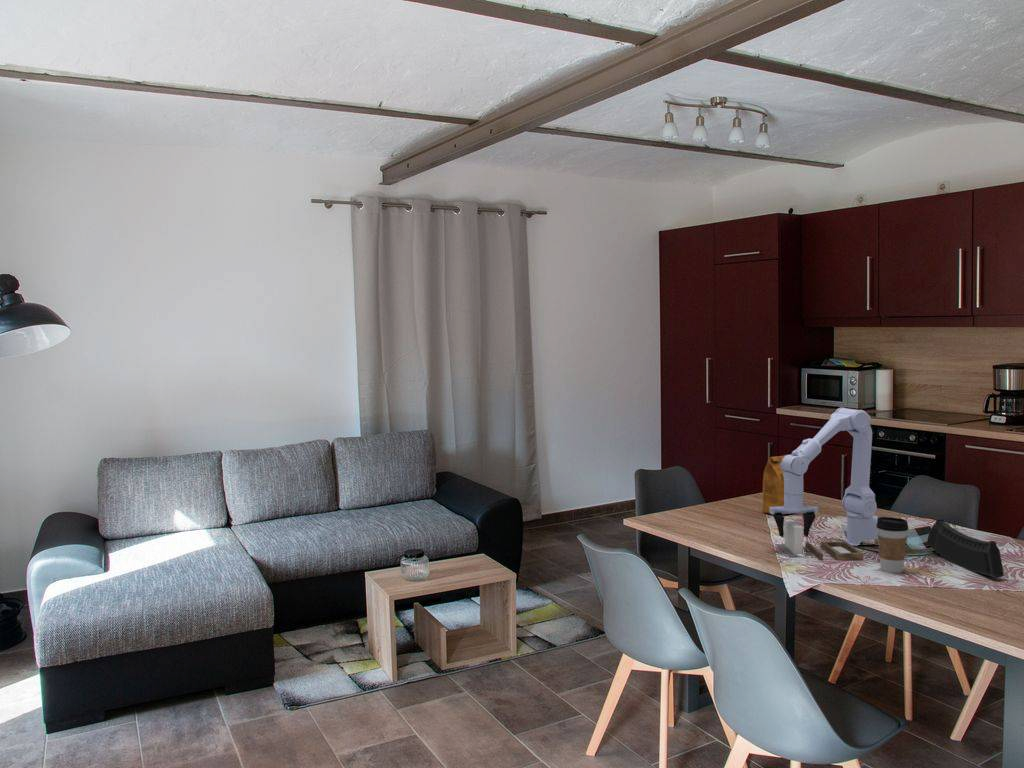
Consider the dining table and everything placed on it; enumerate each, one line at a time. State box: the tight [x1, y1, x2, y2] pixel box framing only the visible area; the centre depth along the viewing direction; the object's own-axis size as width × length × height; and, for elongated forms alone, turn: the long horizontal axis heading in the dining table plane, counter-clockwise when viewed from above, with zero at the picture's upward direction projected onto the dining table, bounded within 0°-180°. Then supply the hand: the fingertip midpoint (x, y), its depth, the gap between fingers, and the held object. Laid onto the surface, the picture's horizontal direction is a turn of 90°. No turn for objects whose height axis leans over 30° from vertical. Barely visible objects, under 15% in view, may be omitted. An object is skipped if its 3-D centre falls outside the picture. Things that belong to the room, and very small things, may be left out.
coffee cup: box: [876, 516, 909, 574], centre depth 236 cm, size 8×8×15 cm
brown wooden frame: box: [804, 540, 864, 562], centre depth 254 cm, size 13×14×2 cm
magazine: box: [927, 518, 1005, 578], centre depth 238 cm, size 17×3×30 cm
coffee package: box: [762, 454, 793, 516], centre depth 308 cm, size 10×12×22 cm
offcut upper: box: [832, 547, 851, 553], centre depth 254 cm, size 3×7×1 cm, turn 4°
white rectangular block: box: [784, 519, 804, 555], centre depth 258 cm, size 2×10×8 cm, turn 179°
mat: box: [775, 543, 813, 558], centre depth 258 cm, size 7×14×1 cm, turn 179°
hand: (793, 536), depth 258 cm, fingers open, 7 cm apart
